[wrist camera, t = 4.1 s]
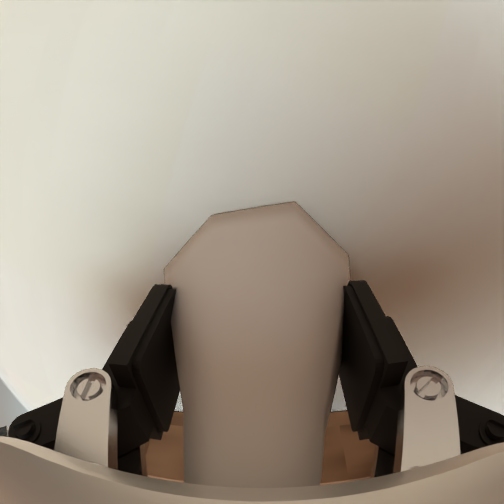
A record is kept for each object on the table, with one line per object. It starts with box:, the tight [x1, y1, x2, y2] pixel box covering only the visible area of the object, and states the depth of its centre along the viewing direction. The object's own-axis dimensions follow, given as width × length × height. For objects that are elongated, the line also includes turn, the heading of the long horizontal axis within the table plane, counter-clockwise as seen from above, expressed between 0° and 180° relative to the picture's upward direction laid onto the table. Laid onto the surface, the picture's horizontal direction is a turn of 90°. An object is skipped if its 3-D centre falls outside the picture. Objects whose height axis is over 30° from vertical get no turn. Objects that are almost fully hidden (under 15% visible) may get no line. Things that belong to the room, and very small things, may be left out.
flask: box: [164, 202, 350, 488], centre depth 7 cm, size 7×7×10 cm
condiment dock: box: [145, 411, 375, 485], centre depth 16 cm, size 16×16×4 cm
